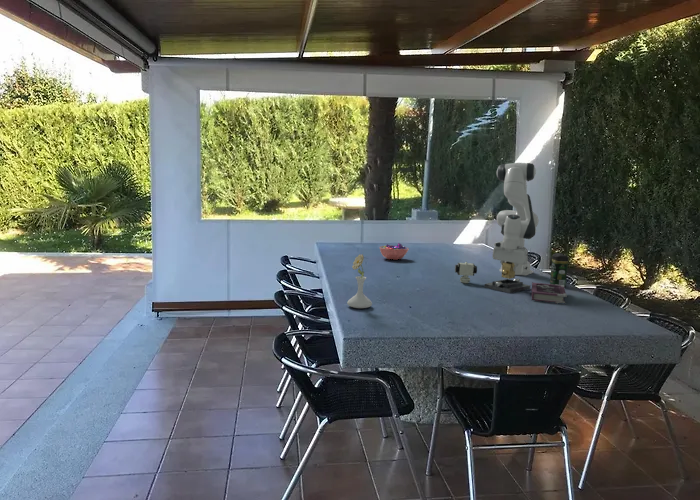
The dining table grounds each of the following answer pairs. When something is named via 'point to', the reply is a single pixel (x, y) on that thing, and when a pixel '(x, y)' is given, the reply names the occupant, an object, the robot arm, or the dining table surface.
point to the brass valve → (508, 270)
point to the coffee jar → (559, 269)
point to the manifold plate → (507, 285)
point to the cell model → (393, 251)
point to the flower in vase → (359, 287)
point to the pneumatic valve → (465, 271)
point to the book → (548, 292)
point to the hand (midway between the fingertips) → (508, 270)
